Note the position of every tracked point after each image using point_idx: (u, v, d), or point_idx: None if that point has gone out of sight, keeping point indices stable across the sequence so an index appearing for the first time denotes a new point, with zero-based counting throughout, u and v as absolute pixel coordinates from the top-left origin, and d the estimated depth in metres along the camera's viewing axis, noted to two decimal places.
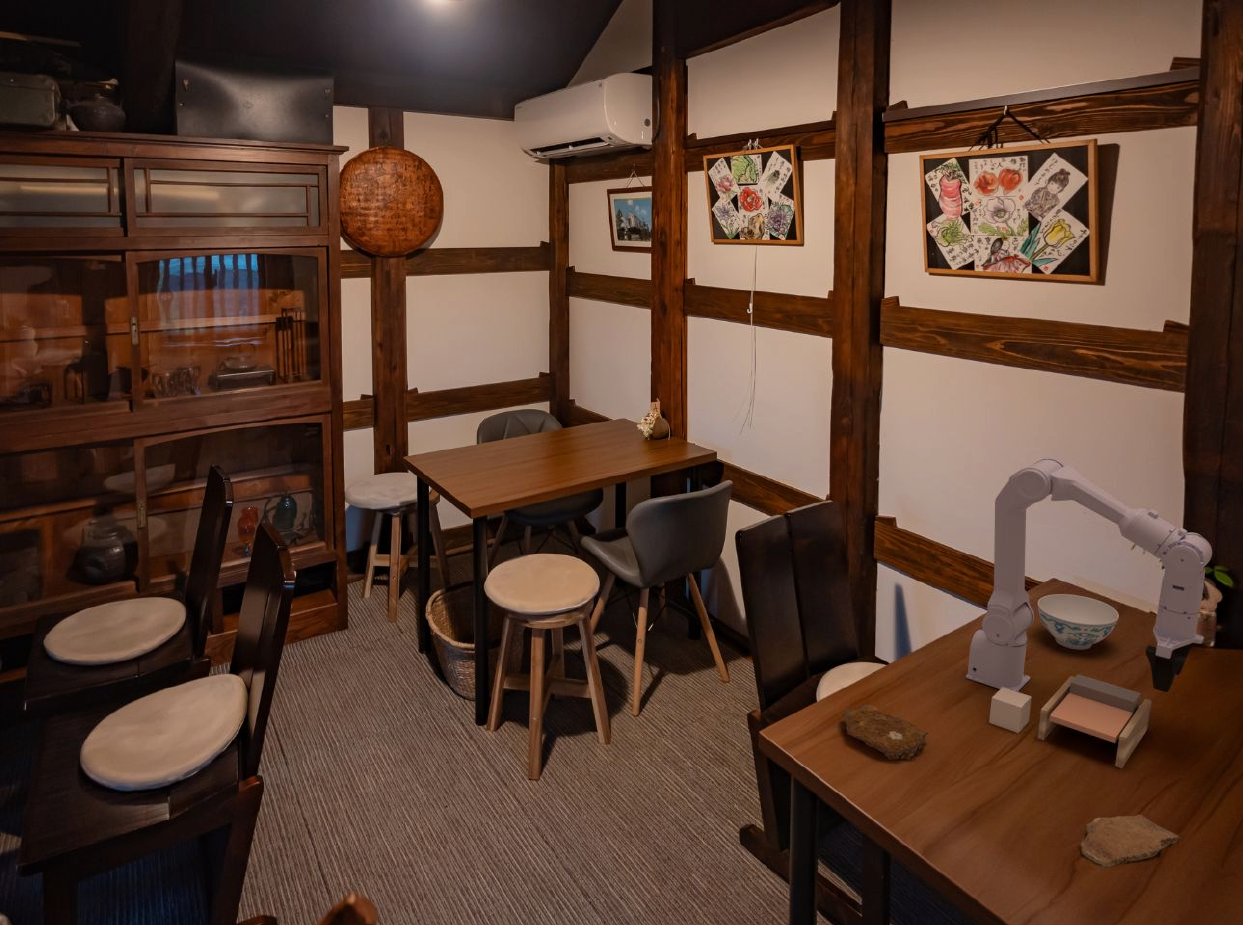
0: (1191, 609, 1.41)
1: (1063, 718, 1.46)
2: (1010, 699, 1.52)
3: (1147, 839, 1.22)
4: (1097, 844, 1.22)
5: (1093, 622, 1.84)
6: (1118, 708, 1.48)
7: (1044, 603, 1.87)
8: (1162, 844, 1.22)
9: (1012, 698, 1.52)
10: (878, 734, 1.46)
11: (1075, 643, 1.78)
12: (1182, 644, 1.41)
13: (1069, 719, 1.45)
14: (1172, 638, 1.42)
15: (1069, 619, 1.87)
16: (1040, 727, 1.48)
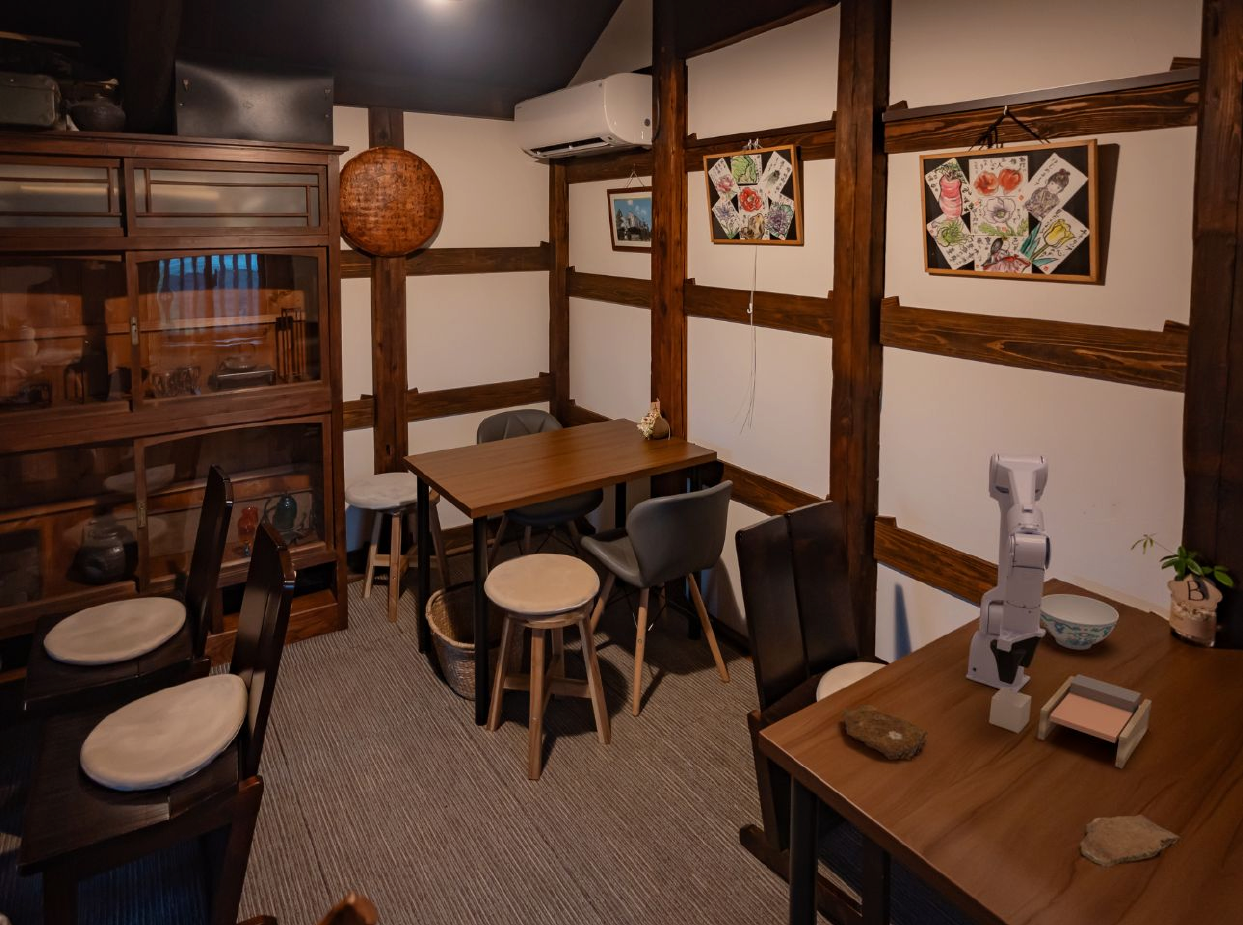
0: (1012, 600, 1.46)
1: (1063, 718, 1.46)
2: (1009, 699, 1.52)
3: (1147, 839, 1.22)
4: (1097, 844, 1.22)
5: (1093, 622, 1.84)
6: (1118, 708, 1.48)
7: (1044, 603, 1.87)
8: (1162, 844, 1.22)
9: (1012, 698, 1.52)
10: (878, 734, 1.46)
11: (1075, 643, 1.78)
12: (1023, 637, 1.45)
13: (1069, 719, 1.45)
14: (1015, 632, 1.47)
15: (1069, 619, 1.87)
16: (1040, 727, 1.48)
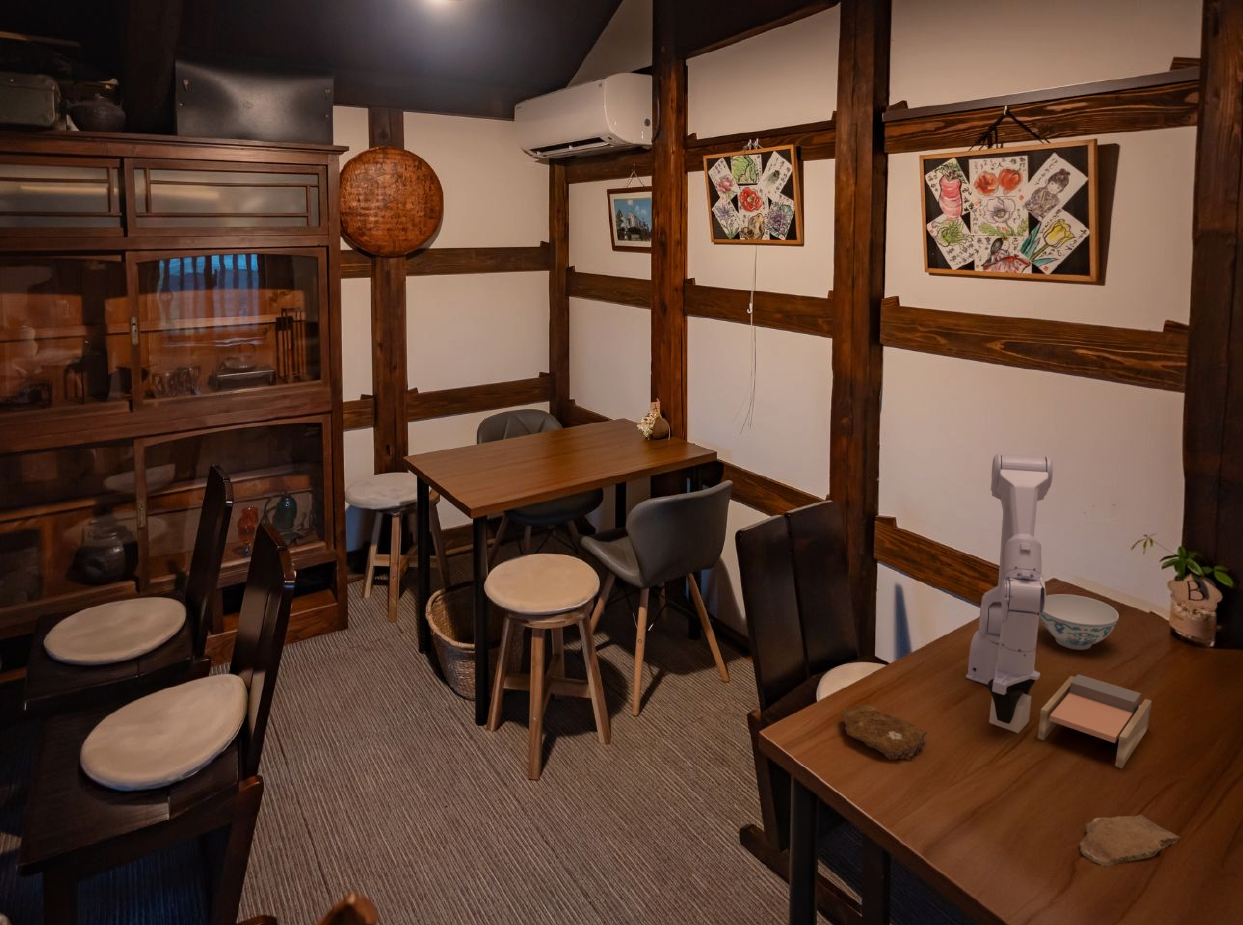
0: (1007, 643, 1.48)
1: (1063, 718, 1.46)
2: None
3: (1147, 839, 1.22)
4: (1096, 844, 1.22)
5: (1093, 622, 1.84)
6: (1118, 708, 1.48)
7: None
8: (1162, 844, 1.22)
9: None
10: (878, 734, 1.46)
11: (1075, 643, 1.78)
12: (1018, 680, 1.47)
13: (1069, 719, 1.45)
14: (1010, 674, 1.49)
15: (1069, 619, 1.87)
16: (1040, 727, 1.48)
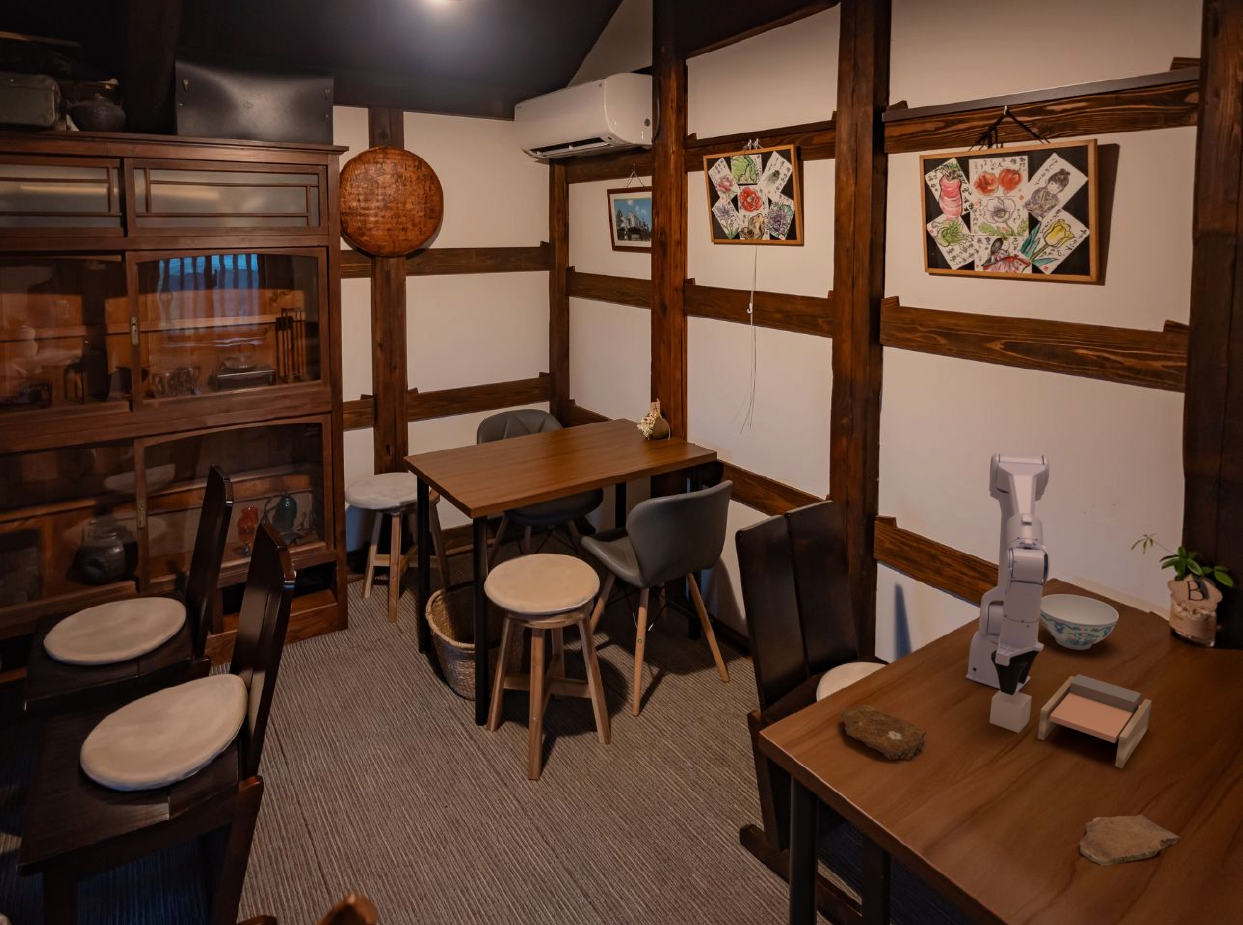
0: (1010, 614, 1.47)
1: (1063, 718, 1.46)
2: (1010, 699, 1.52)
3: (1147, 839, 1.22)
4: (1096, 843, 1.22)
5: (1093, 622, 1.84)
6: (1118, 708, 1.48)
7: (1044, 603, 1.87)
8: (1162, 844, 1.22)
9: (1012, 698, 1.52)
10: (877, 734, 1.46)
11: (1075, 643, 1.78)
12: (1021, 652, 1.46)
13: (1069, 719, 1.45)
14: (1013, 646, 1.48)
15: (1069, 619, 1.87)
16: (1040, 727, 1.48)
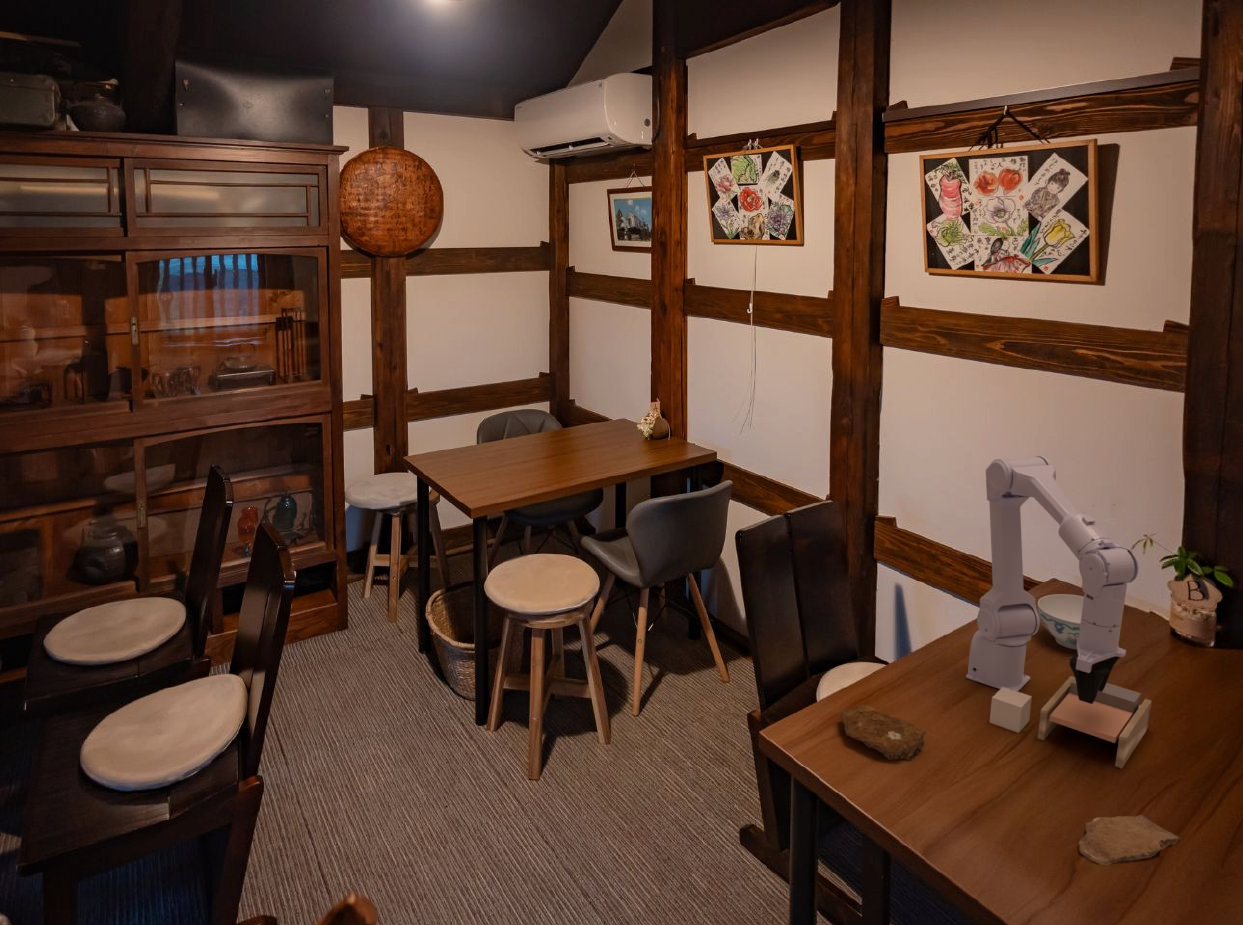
0: (1101, 621, 1.38)
1: (1063, 718, 1.46)
2: (1010, 699, 1.52)
3: (1146, 839, 1.22)
4: (1095, 843, 1.22)
5: None
6: (1118, 708, 1.48)
7: (1044, 603, 1.87)
8: (1162, 844, 1.22)
9: (1012, 698, 1.52)
10: (877, 734, 1.46)
11: (1075, 643, 1.78)
12: (1103, 658, 1.38)
13: (1069, 719, 1.45)
14: (1094, 652, 1.40)
15: (1069, 619, 1.87)
16: (1040, 727, 1.48)
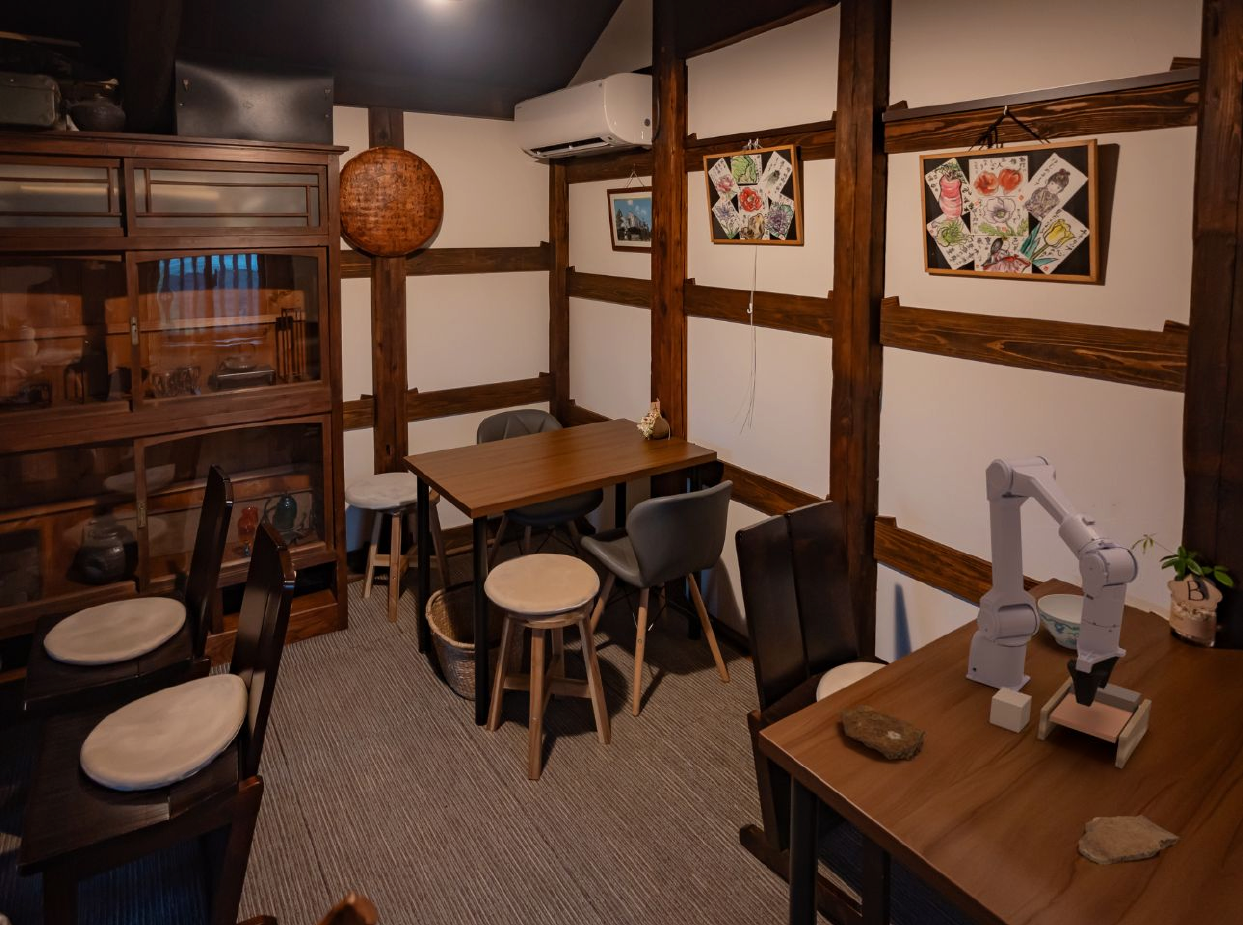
0: (1101, 621, 1.38)
1: (1063, 718, 1.46)
2: (1010, 699, 1.52)
3: (1146, 839, 1.22)
4: (1095, 843, 1.22)
5: None
6: (1118, 708, 1.48)
7: (1044, 603, 1.87)
8: (1162, 844, 1.22)
9: (1012, 698, 1.52)
10: (877, 734, 1.46)
11: (1075, 643, 1.78)
12: (1103, 658, 1.38)
13: (1069, 719, 1.45)
14: (1094, 652, 1.40)
15: (1069, 619, 1.87)
16: (1040, 727, 1.48)
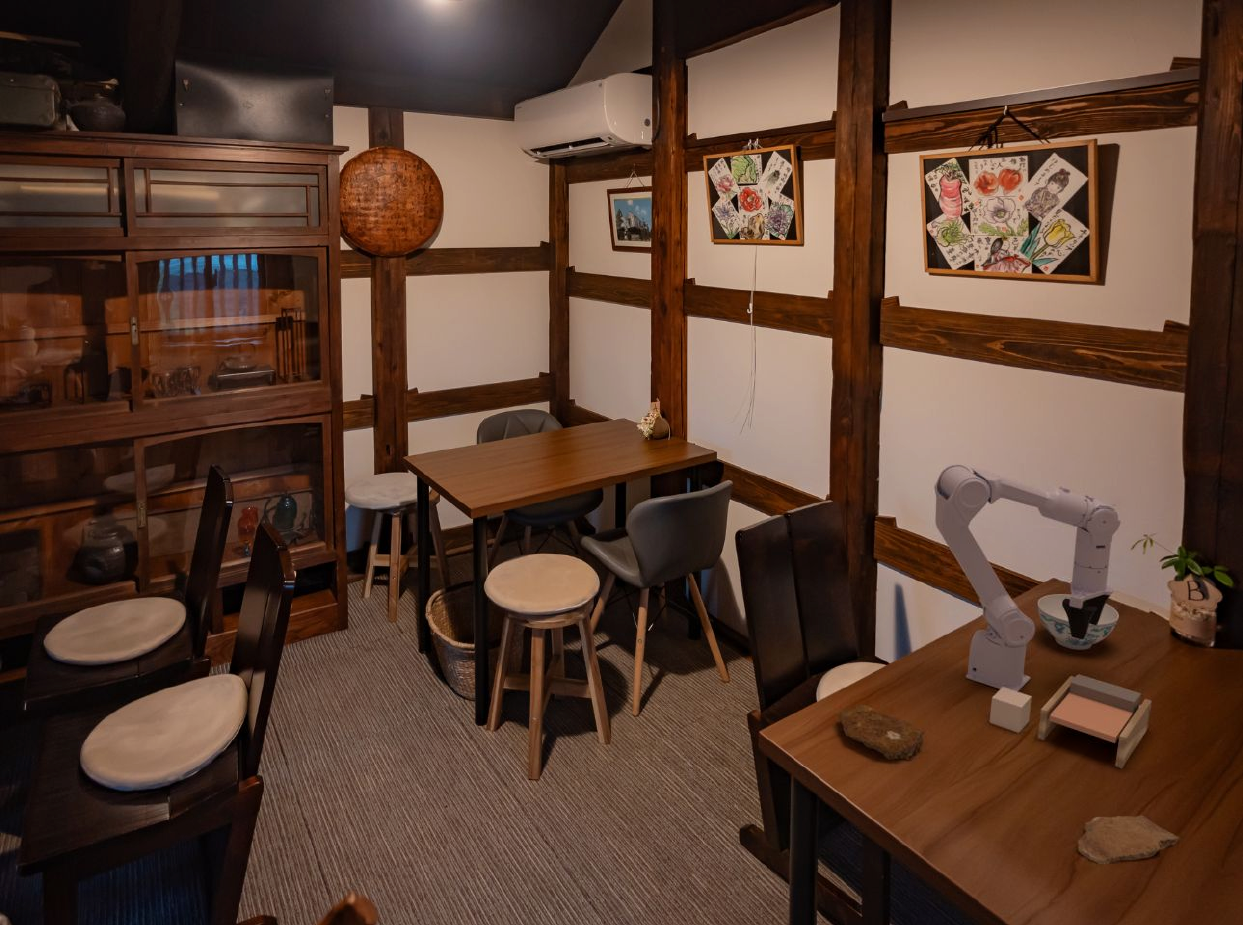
0: (1108, 562, 1.59)
1: (1063, 718, 1.46)
2: (1010, 699, 1.52)
3: (1146, 839, 1.22)
4: (1094, 842, 1.22)
5: None
6: (1118, 708, 1.48)
7: (1044, 603, 1.87)
8: (1161, 844, 1.22)
9: (1012, 698, 1.52)
10: (876, 735, 1.46)
11: (1075, 643, 1.78)
12: (1093, 596, 1.59)
13: (1069, 719, 1.45)
14: (1085, 591, 1.60)
15: None
16: (1040, 727, 1.48)
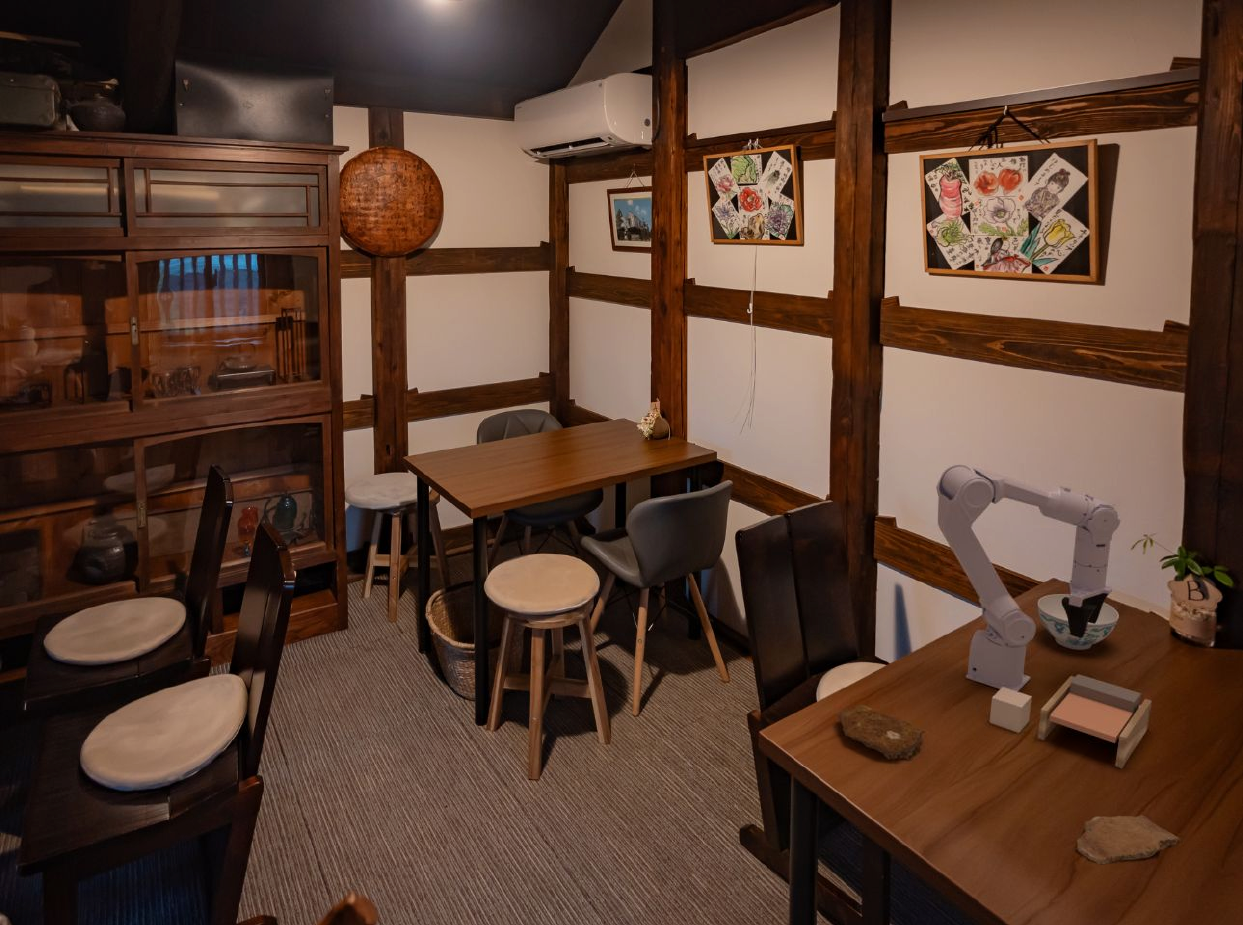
0: (1107, 560, 1.60)
1: (1063, 718, 1.46)
2: (1010, 699, 1.52)
3: (1146, 839, 1.22)
4: (1093, 842, 1.22)
5: None
6: (1118, 708, 1.48)
7: (1044, 603, 1.87)
8: (1161, 844, 1.22)
9: (1012, 698, 1.52)
10: (876, 734, 1.46)
11: (1075, 643, 1.78)
12: (1092, 594, 1.60)
13: (1069, 719, 1.45)
14: (1084, 589, 1.61)
15: None
16: (1040, 727, 1.48)
